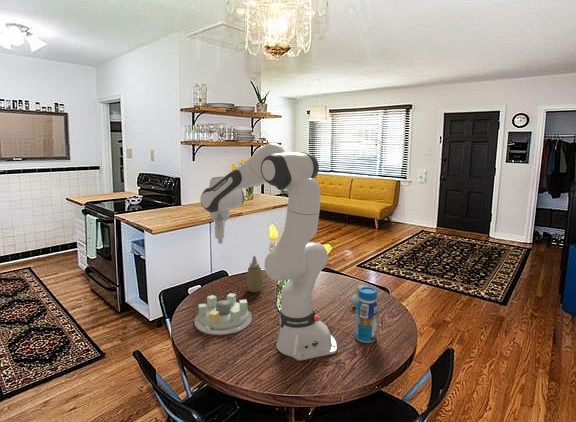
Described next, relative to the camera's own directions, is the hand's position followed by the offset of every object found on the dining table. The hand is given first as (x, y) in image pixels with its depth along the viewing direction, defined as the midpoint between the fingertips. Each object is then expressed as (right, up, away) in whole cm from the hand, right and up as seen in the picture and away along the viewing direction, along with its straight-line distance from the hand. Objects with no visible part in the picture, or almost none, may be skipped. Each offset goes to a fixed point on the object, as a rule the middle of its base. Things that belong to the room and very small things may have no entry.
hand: (220, 242), depth 166 cm
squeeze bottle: (+14, -26, +20) cm, 36 cm away
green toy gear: (+3, -30, -11) cm, 32 cm away
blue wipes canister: (+61, -35, -22) cm, 74 cm away
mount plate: (+3, -32, -10) cm, 34 cm away
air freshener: (+65, -30, +3) cm, 72 cm away
